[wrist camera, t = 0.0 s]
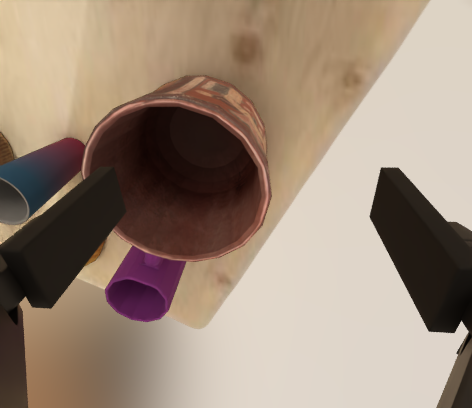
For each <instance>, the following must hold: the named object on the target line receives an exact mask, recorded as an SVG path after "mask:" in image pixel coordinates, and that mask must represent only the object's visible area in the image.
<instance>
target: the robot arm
mask: <svg viewBox="0 0 472 408" xmlns="http://www.w3.org/2000/svg"><path fill="white" fill-rule="evenodd" d="M126 212H127V211H126V208H125V204H124V200H123V197H122V193H121V190H120V186H119V183H118V179H117V175H116V172H115V168H114V167H99V168H98V169H97V170H95V171H94V172H93V173H92V174H90V175H89V176H88V177H87V178H86V179H84V180H83V181H82V182H81V183H80V184H78V185H77V186H76V187H75V188H73V189H72V190H71V191H70V192H69V193H67V194H66V195H65V196H64V197H62V198H61V199H60V200H59V201H58V202H56V203H55V204H54V205H53V206H52V207H50V208H49V209H48V210H47V211H45V212H44V213H43V214H42V215H40V216H38V217H36V218H34V219H32V220H31V221H29V222H28V223H27V224H26V225H25V226H23V227H22V229H20V230H18V231H17V232H16V233H15V234H14V236H11V237H10V238H8V239H7V240H6V241H5V242H3V243H2V244H1V245H0V408H28V398H27V382H26V363H25V346H24V328H23V311H22V309H21V307H20V305H19V303H20V302H21V301H22V300H23V299H24V297H25V296H26V298H27V299H28V301H29V303H30V304H31V306H32V307H35V308H52V307H53V306H54V304H55V303H56V302H57V301H58V299H59V298H60V297H61V295H62V294H63V293H64V292H65V290H66V289H67V288H68V286H69V285H70V284H71V283H72V281H73V280H74V279H75V277H76V276H77V275H78V274H79V272H80V271H81V270H82V268H83V267H84V266H85V265H86V263H87V262H88V261H89V259H90V258H91V257H92V256H93V254H94V253H95V252H96V250H97V249H98V248H99V247H100V245H101V244H102V243H103V242H104V240H105V239H106V238H107V236H108V235H109V234H110V233H111V231H112V230H113V229H114V227H115V226H116V225H117V224H118V222H119V221H120V220H121V218H122V217H123V216H124V215H125V213H126ZM370 219H371V221H372V222H373V224H374V226H375V228H376V230H377V232H378V234H379V236H380V238H381V239H382V242H383V244H384V246H385V247H386V250H387V251H388V253H389V255H390V257H391V259H392V261H393V263H394V265H395V267H396V269H397V271H398V273H399V275H400V277H401V279H402V281H403V282H404V284H405V286H406V288H407V290H408V292H409V294H410V296H411V298H412V300H413V302H414V304H415V306H416V308H417V310H418V312H419V313H420V315H421V317H422V319H423V321H424V323H425V325H426V327H427V329H428V331H429V332H446V333H455V331H456V329H457V328H458V326H459V324H460V322H461V320H462V322H463V324H464V325H465V327H466V328H467V330H468V331H469V333H468V334H467V336H466V338H465V339H464V341H463V343H462V344H461V346H460V348H459V349H458V351H457V354H458V356H457V359H456V361H455V364H454V366H453V369H452V371H451V374H450V376H449V378H448V381H447V384H446V386H445V388H444V391H443V393H442V395H441V398H440V400H439V403H438V405H437V408H472V231H470V230H469V229H467V228H466V227H464V226H462V225H461V224H459V223H457V222H447V221H446V220H445V219H444V218H443V217H442V215H441V214H440V213H439V212H438V211H437V210H436V209H435V208H434V207H433V205H431V203H430V202H429V201H428V200H427V199H426V198H425V197H424V195H422V193H421V192H420V191H419V190H418V189H417V188H416V187H415V185H414V184H413V183H412V182H411V181H410V180H409V179H408V178H407V177H406V175H405V174H404V173H403V172H402V171H401V170H400V169H399V168H381V170H380V175H379V179H378V184H377V188H376V192H375V196H374V200H373V205H372V209H371V213H370Z"/></svg>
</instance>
